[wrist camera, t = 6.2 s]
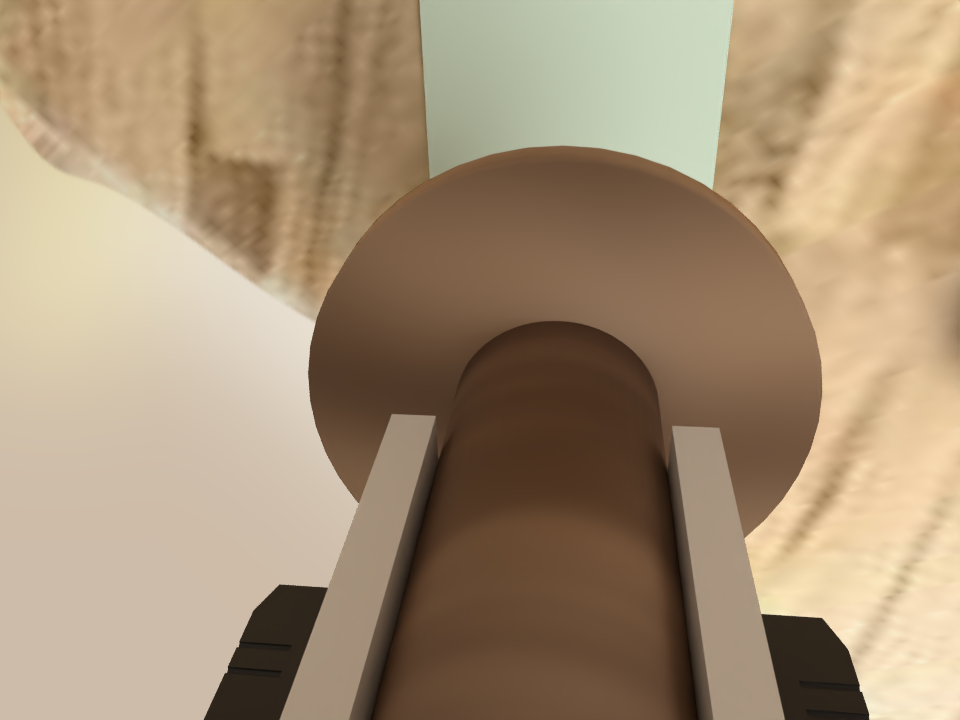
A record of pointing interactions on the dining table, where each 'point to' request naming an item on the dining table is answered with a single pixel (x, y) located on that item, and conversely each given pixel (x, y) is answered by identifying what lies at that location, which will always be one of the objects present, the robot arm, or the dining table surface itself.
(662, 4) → the mat
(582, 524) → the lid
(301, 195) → the dining table surface
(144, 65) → the dining table surface
